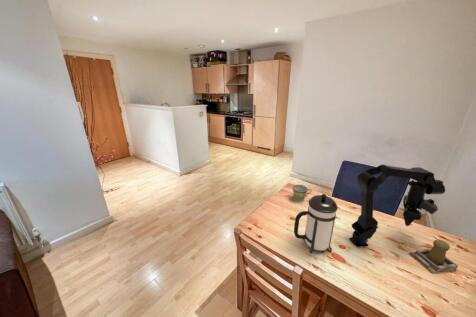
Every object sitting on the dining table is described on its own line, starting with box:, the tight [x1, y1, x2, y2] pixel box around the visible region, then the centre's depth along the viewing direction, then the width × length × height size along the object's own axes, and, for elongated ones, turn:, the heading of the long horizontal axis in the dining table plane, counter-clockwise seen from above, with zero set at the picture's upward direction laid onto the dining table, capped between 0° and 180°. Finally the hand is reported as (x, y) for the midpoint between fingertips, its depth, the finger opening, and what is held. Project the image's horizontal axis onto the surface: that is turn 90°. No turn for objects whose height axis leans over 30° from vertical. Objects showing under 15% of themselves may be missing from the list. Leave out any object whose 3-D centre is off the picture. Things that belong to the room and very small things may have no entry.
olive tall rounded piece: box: [426, 239, 451, 266], centre depth 90 cm, size 6×6×11 cm
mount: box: [408, 248, 459, 274], centre depth 92 cm, size 12×11×3 cm
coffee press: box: [293, 193, 339, 254], centre depth 97 cm, size 17×16×30 cm
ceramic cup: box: [292, 184, 312, 203], centre depth 141 cm, size 13×10×10 cm
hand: (406, 220), depth 100 cm, fingers open, 9 cm apart
